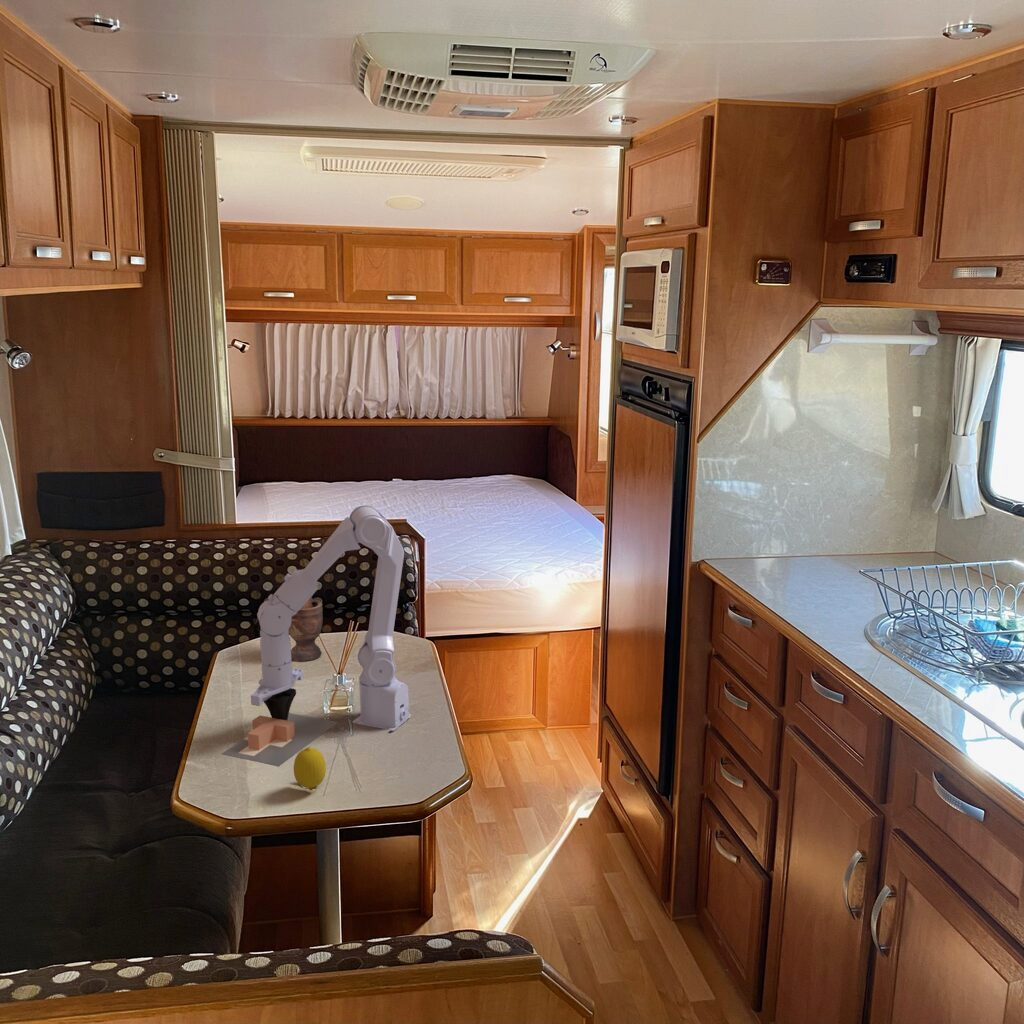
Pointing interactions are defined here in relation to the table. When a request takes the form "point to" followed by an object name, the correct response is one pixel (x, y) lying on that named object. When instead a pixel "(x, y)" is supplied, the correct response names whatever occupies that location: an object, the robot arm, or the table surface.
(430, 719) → the table surface
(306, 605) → the mortar and pestle
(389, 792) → the table surface
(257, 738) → the t block
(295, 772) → the lemon
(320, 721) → the slate board
